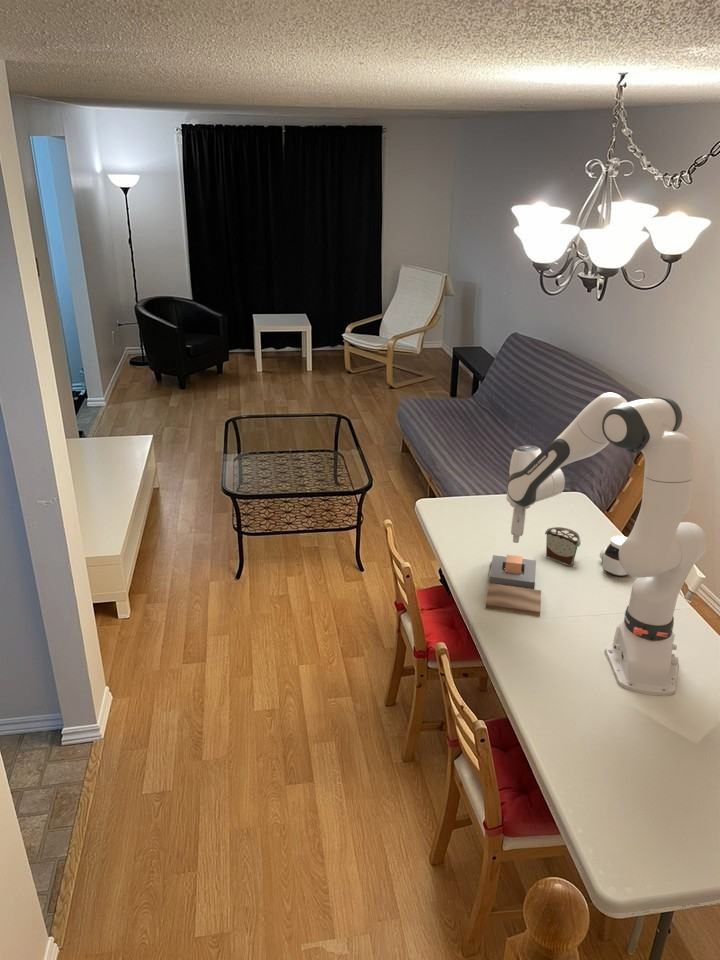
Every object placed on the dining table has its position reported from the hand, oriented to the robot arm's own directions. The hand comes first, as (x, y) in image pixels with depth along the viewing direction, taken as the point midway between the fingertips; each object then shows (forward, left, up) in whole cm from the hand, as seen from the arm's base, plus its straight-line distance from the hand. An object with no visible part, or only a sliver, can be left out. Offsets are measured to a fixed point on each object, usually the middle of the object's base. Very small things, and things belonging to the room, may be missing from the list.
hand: (516, 534), depth 232 cm
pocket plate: (0, 0, -15) cm, 15 cm away
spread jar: (+12, -32, -15) cm, 38 cm away
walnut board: (-16, -1, -15) cm, 22 cm away
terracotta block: (0, 0, -15) cm, 15 cm away
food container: (+15, -16, -15) cm, 27 cm away
